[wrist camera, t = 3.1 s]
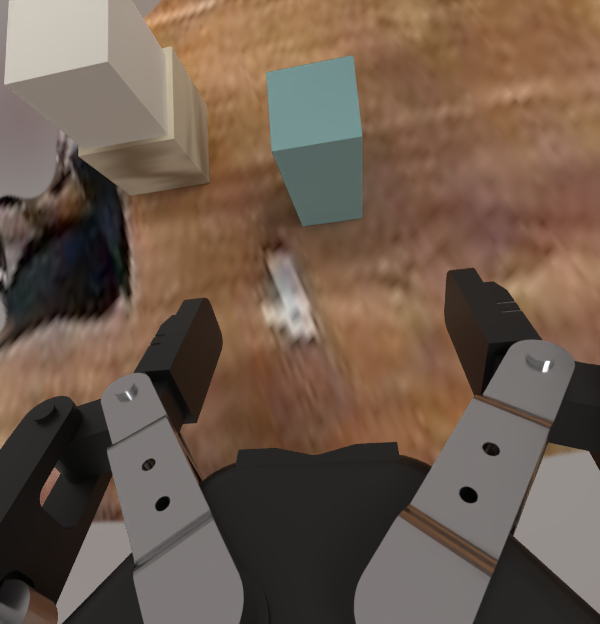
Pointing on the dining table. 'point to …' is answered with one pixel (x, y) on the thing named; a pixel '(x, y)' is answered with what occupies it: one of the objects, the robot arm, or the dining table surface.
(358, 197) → the teal block
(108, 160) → the beech block
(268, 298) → the dining table surface
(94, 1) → the cream block
